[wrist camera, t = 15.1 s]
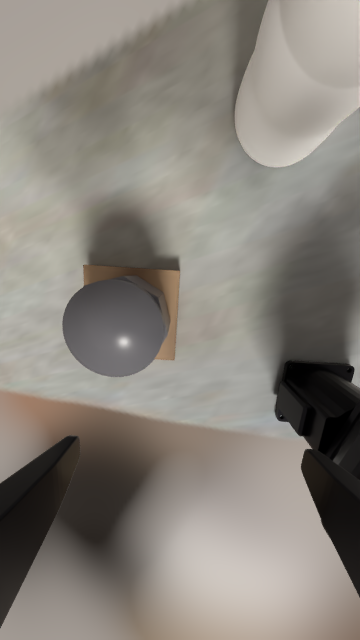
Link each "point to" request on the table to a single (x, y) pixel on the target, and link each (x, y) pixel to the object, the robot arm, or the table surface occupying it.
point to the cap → (116, 325)
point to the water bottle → (299, 79)
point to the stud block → (157, 278)
